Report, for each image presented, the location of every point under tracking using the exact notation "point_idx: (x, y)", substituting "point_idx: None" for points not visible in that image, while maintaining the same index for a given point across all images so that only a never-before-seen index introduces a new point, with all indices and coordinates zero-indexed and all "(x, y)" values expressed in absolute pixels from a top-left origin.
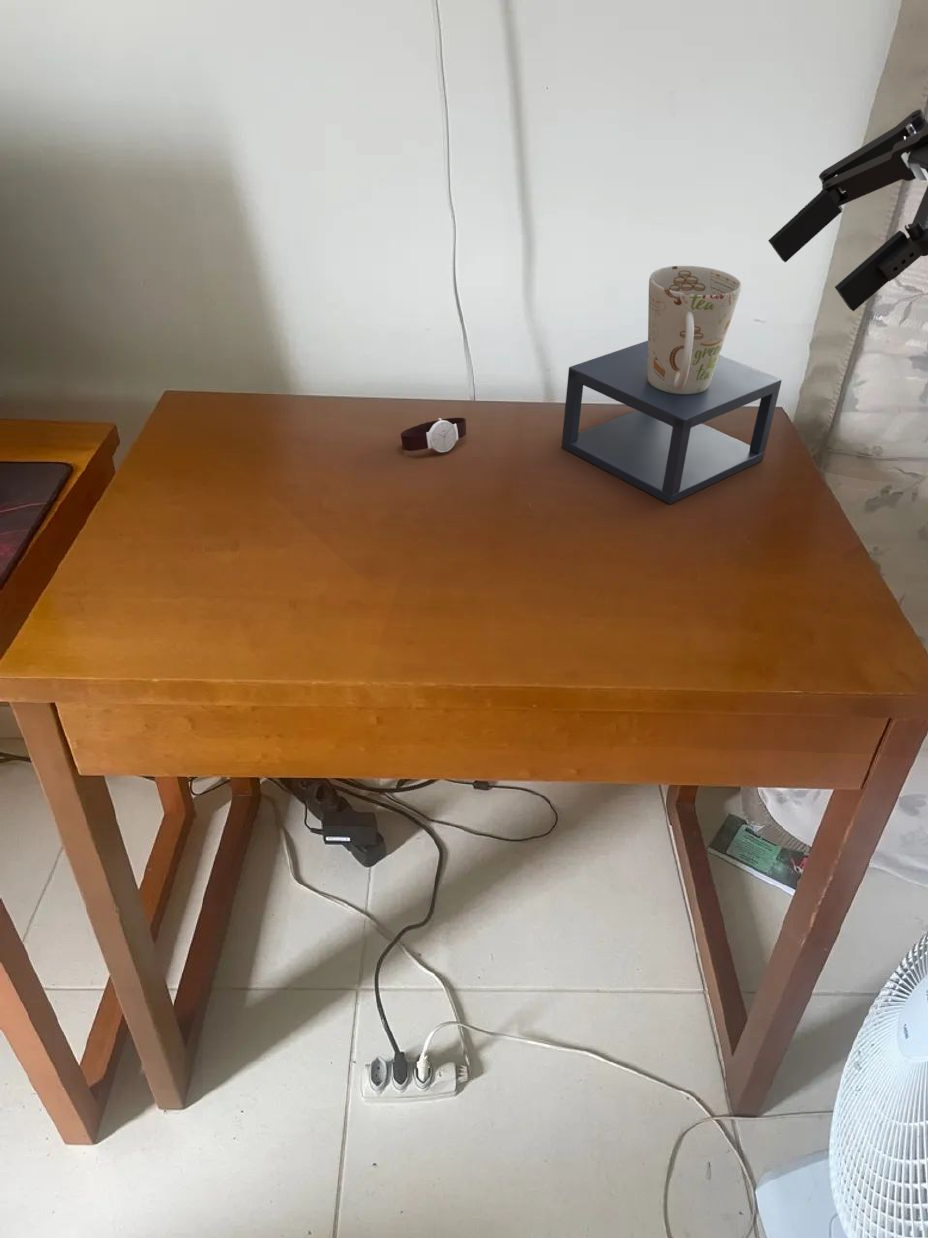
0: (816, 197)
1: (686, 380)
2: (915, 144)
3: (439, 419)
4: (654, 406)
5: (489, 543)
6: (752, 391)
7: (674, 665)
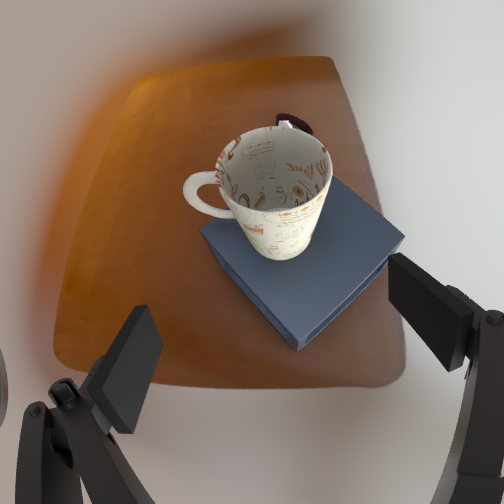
0: (457, 301)
1: (197, 209)
2: None
3: (287, 120)
4: (226, 209)
5: (182, 167)
6: (263, 302)
7: (80, 248)
